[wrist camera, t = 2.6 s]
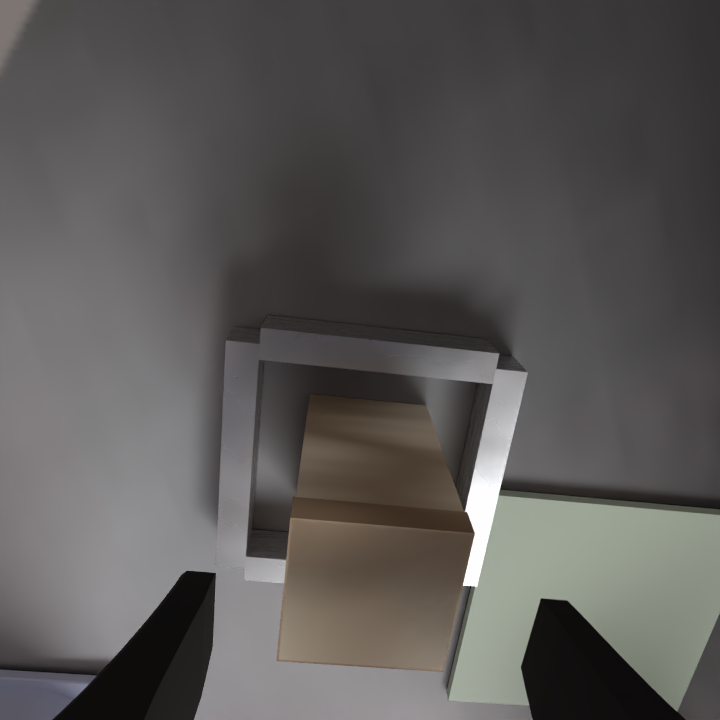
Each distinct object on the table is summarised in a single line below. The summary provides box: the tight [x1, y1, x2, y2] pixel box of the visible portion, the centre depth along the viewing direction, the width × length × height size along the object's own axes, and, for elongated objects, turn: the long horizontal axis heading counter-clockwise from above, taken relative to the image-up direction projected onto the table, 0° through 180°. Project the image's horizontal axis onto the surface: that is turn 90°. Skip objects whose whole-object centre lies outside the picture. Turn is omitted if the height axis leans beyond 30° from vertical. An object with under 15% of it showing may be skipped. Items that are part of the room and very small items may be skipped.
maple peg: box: [277, 394, 475, 672], centre depth 16 cm, size 4×4×7 cm
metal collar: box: [216, 315, 528, 586], centre depth 18 cm, size 9×9×2 cm
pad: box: [447, 490, 720, 711], centre depth 22 cm, size 10×10×1 cm
